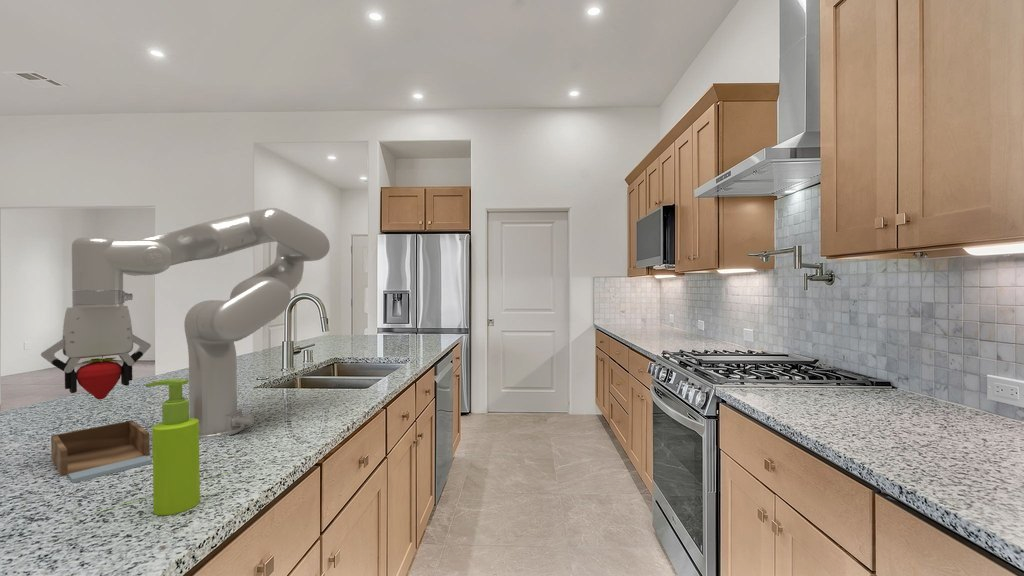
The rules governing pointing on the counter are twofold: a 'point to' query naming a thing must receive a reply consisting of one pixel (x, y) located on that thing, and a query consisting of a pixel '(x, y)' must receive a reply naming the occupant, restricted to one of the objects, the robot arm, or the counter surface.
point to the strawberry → (99, 376)
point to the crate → (98, 446)
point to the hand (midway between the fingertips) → (99, 387)
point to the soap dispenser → (175, 454)
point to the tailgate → (108, 469)
